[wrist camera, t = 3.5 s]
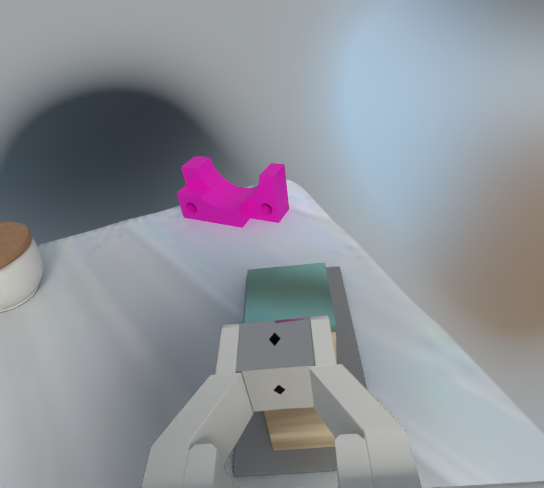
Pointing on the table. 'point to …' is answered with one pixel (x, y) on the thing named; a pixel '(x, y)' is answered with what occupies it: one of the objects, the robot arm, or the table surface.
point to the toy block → (231, 195)
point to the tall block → (288, 305)
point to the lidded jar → (18, 265)
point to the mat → (255, 438)
